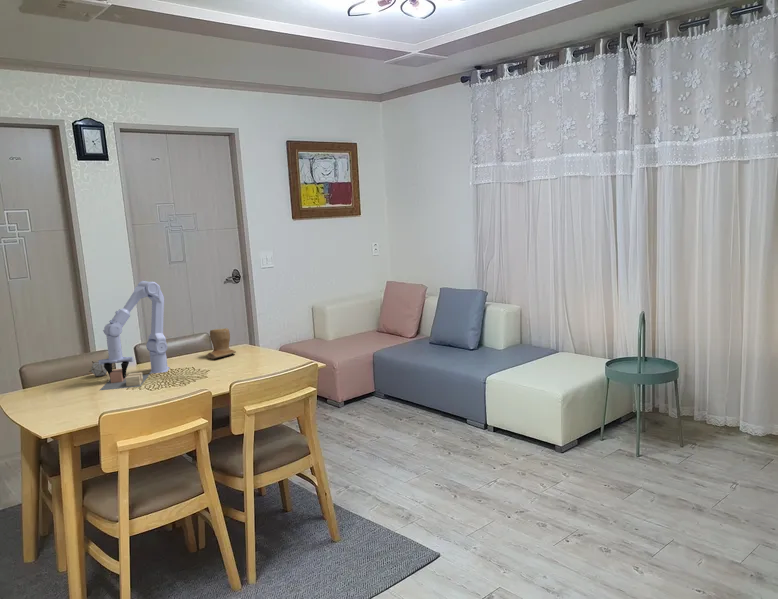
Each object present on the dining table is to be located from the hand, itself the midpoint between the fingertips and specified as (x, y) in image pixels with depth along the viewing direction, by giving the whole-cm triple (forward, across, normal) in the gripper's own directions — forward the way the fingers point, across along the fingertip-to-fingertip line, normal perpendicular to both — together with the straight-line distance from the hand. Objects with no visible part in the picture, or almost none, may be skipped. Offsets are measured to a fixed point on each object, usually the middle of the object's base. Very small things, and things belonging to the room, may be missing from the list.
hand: (118, 378), depth 280 cm
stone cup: (+2, +43, +34) cm, 55 cm away
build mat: (+1, +4, -4) cm, 6 cm away
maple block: (+1, +9, -9) cm, 13 cm away
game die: (+2, -11, +13) cm, 17 cm away
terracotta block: (+1, 0, 0) cm, 1 cm away
